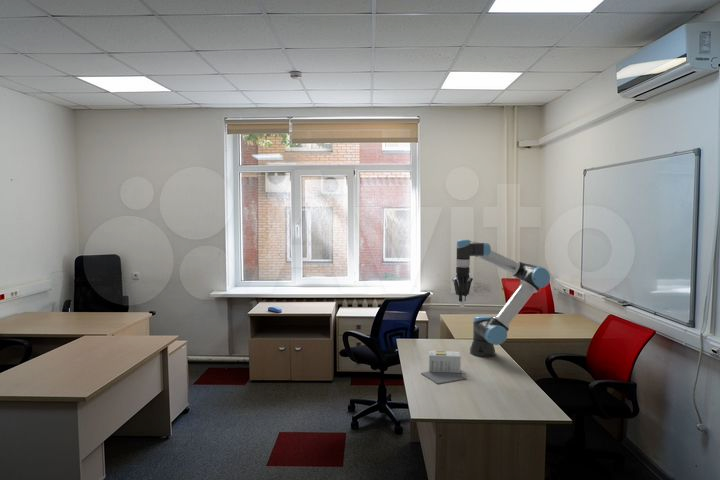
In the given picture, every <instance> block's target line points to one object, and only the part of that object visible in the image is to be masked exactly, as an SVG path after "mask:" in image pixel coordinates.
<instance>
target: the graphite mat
mask: <svg viewBox="0 0 720 480" xmlns="http://www.w3.org/2000/svg"><path fill="white" fill-rule="evenodd" d="M420 374H421V375H422V376H424V378H427V379H429V380H430V381H432V382H433V383H435V384H437V385H440V384H447V383H452V382H458V381H462V380H463V381H464V380H467V377H466V376H464V375H462V374H460V373H452V372H429V371H424V372H420Z"/></svg>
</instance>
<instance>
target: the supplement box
mask: <svg viewBox="0 0 720 480" xmlns="http://www.w3.org/2000/svg"><path fill="white" fill-rule="evenodd" d="M461 359H462V358H461V353H460V351H452V350H451V351H450V350H449V351H447V350H429V351H428V369H429V371H428V372H452V373H458V374H460V373H461V366H462V365H461V363H462V362H461Z"/></svg>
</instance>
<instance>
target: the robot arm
mask: <svg viewBox="0 0 720 480" xmlns="http://www.w3.org/2000/svg"><path fill="white" fill-rule="evenodd" d="M455 247H456V258H455V259H456V263H455V264H456V266H455V268H456V269H455V270H456V271H455V272H456V275H455V278H452V279H451V280H452V281H453V286H454V292H455V295H456V296H458V301H459V307H460V308H463V309H464V308H465V306H466V305H465V304H466V303H465V302H466V300H467V299H466V298H467V296H468V295H470V289H471V286H472V282H473V281H474V278H473V277H470V271H471V269H470V268H471V266H470V264H471V259H470V258H471V257H476V258H478V259H480V260H482V261H484V262H487V263H488V264H491V265H494V266H495V267H498V268H500V269H501V270H503V271H506V272H507V273H509V274H510V275H511V276H513V277H514V278H517V279H518V280H520V284H519V286H518V287H517V288H516V290H515V291H514V293H512V295H511V296H510V298H509V299H508V300H507V302H506V303H505V304H504V306H502V308H501V310H500V311H499V312H498V313H497V315H493V316H491V315H490V316H489V315H477V316H474V317H473V322H472V323H473V327H472V328H473V331H472V332H473V333H472V337H473V338H472V339H473V340H472V342H471V346H470V349H469V353H470V354H471V355H473V356H477V357H482V358H485V357H487V358H489V357H493V356H495V355H496V349H495V346H498V345H501V344H503V343H504V342H505V341H507V337H508V331H509V330H510V324H511V323H512V322H513V320H514V319H515V317H516V316H517V315H518V314H519V312H520V311H521V310H522V309H523V307H524V306H525V305H526V303H527V302H528V301H529V299H530V298H531V297H532V295H533V294H534V293H538V292H539V291H540V290H541V289H542V288H546V287H548V285H549V284H550V282H551V274H550V272H549V270H548V269H547V268H545V267H542V266H540V265H539V266H538V265H535V264H530V263H526V262H525V263H524V262H521V261H519V260H513V259H512V258H509V257H506V256H505V255H502V254H500V253H498V252H496V251H494V250H491V249H492V248H491V245H490V243H489V242H488V243H487V242H477V241H472V240H470V239H458V240H457V241H456V246H455ZM494 345H495V346H494Z"/></svg>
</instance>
